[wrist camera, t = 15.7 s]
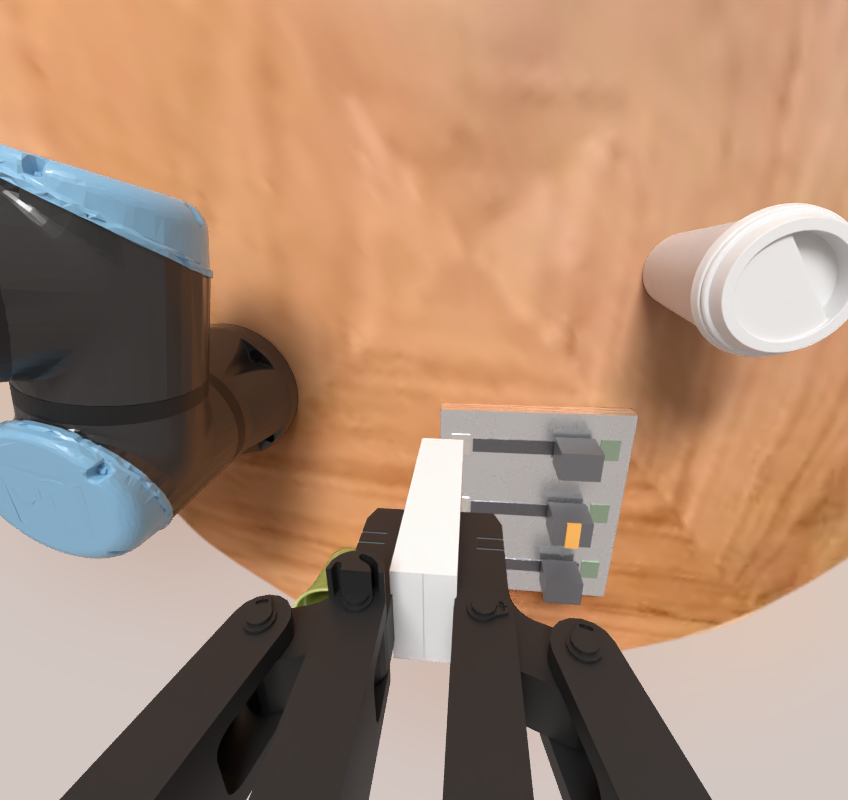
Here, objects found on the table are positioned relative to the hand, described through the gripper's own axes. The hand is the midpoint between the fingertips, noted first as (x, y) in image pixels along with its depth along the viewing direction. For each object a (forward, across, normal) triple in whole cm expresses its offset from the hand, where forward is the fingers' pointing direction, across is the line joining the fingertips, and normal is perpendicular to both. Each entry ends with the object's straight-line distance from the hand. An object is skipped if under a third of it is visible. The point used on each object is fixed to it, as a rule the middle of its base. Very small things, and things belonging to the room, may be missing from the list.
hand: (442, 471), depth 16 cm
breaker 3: (+27, +12, -29) cm, 41 cm away
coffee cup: (+30, +20, +5) cm, 36 cm away
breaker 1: (+27, +12, -13) cm, 32 cm away
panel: (+29, +8, -21) cm, 37 cm away
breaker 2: (+27, +12, -21) cm, 36 cm away
